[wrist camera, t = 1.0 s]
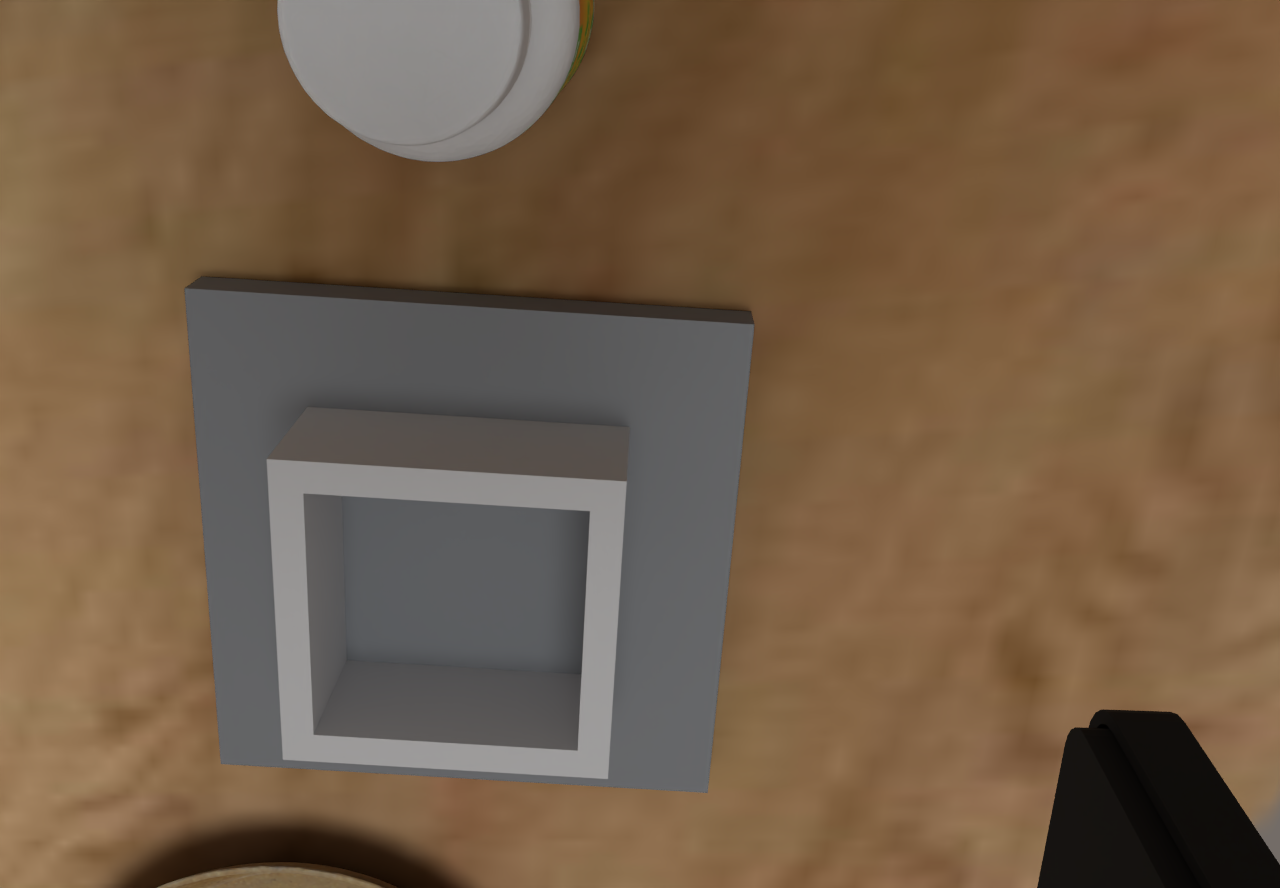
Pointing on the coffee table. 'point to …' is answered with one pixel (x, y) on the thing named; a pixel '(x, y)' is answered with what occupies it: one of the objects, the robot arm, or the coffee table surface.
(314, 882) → the plant saucer
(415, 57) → the supplement bottle
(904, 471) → the coffee table surface
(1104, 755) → the robot arm
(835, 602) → the coffee table surface
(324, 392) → the bottle holder
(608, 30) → the coffee table surface
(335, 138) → the coffee table surface
